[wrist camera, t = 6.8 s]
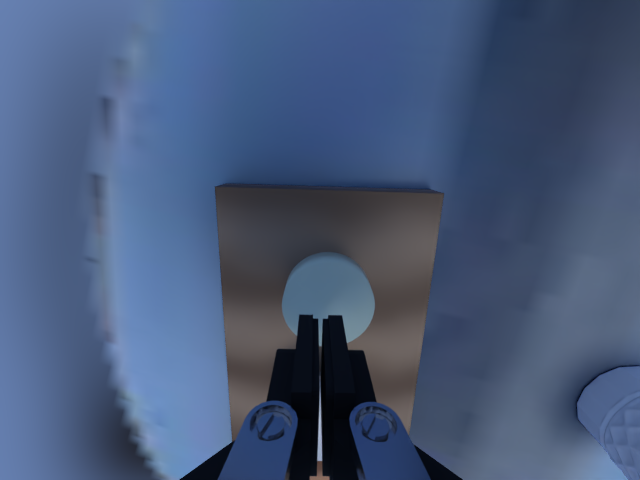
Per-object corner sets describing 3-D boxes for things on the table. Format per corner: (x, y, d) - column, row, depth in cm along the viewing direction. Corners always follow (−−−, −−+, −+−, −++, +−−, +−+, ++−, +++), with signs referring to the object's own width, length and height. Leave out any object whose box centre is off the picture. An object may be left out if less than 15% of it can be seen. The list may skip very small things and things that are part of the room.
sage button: (288, 242, 16) (281, 261, 13) (368, 245, 16) (378, 264, 13) (288, 314, 17) (282, 345, 15) (362, 316, 17) (371, 347, 15)
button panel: (225, 183, 19) (214, 186, 17) (431, 189, 19) (443, 193, 17) (242, 476, 25) (236, 502, 24) (392, 479, 26) (398, 506, 24)
